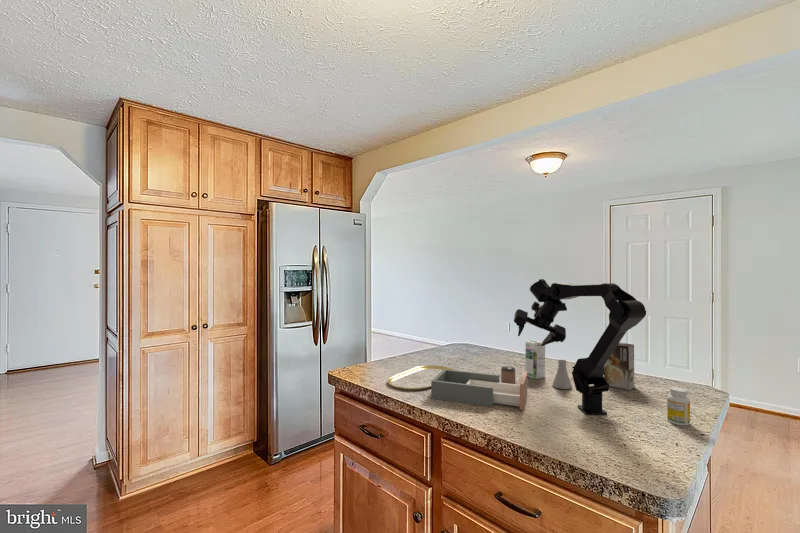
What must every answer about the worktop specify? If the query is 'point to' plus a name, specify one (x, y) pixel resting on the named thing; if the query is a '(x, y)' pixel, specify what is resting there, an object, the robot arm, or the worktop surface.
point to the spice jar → (508, 375)
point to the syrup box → (535, 359)
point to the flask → (562, 377)
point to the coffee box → (620, 367)
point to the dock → (463, 387)
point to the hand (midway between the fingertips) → (529, 340)
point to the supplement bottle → (678, 407)
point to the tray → (506, 391)
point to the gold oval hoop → (413, 372)
